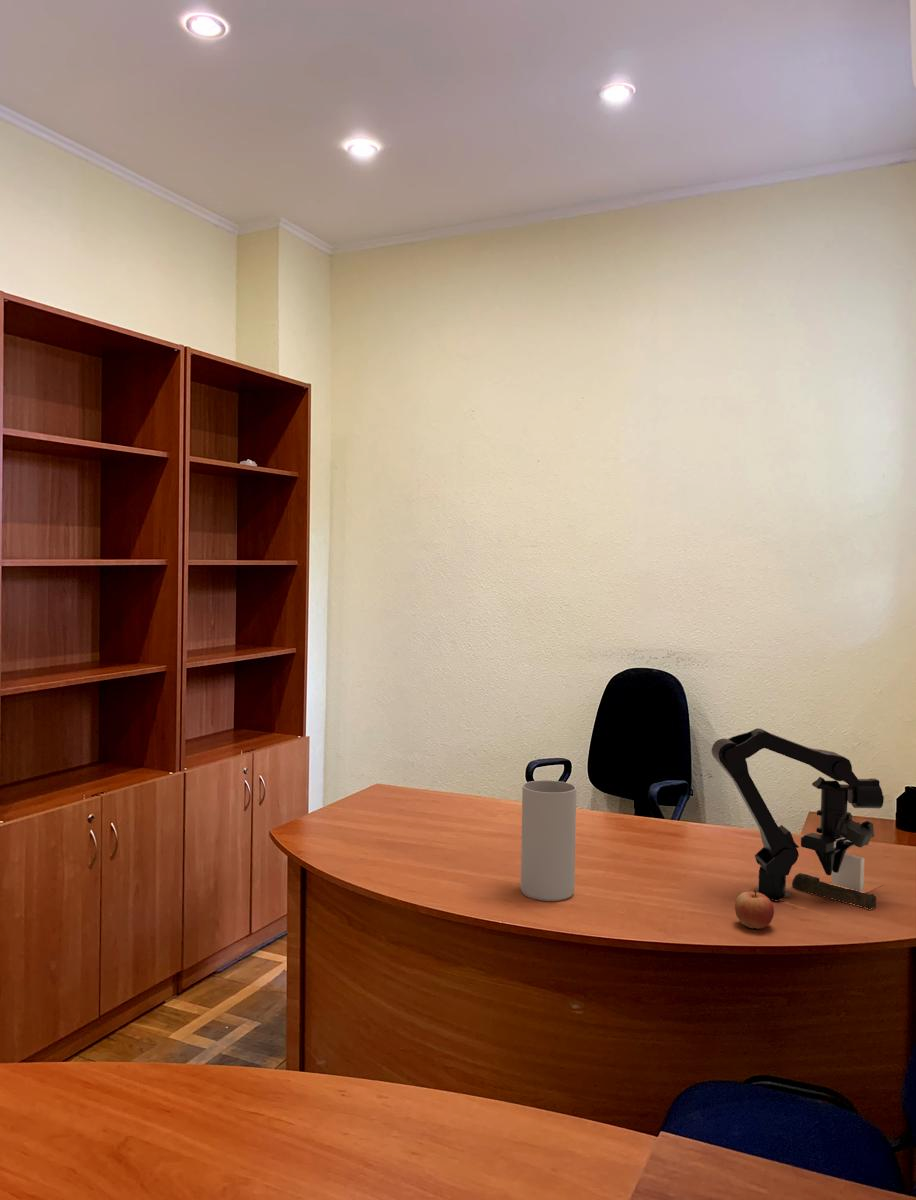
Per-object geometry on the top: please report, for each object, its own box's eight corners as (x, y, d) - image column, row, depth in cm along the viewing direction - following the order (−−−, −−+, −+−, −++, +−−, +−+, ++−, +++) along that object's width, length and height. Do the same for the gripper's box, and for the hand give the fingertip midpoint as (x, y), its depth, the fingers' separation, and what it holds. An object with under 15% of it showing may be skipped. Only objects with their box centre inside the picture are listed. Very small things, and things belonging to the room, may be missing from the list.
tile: (860, 892, 213) (861, 859, 213) (831, 884, 219) (832, 851, 218) (863, 891, 214) (864, 857, 214) (835, 883, 220) (836, 850, 219)
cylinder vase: (585, 894, 211) (587, 787, 210) (548, 906, 203) (550, 795, 202) (546, 880, 220) (548, 778, 220) (509, 891, 212) (511, 785, 211)
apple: (746, 916, 199) (747, 880, 199) (780, 927, 193) (781, 890, 193) (726, 925, 193) (727, 888, 193) (760, 937, 188) (761, 898, 187)
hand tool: (877, 910, 204) (878, 890, 204) (869, 914, 202) (870, 894, 202) (797, 888, 218) (798, 869, 218) (789, 891, 216) (790, 872, 216)
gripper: (847, 821, 199) (845, 891, 199) (887, 808, 211) (885, 875, 211) (800, 810, 208) (798, 878, 208) (841, 798, 219) (839, 862, 220)
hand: (832, 873), depth 212 cm, fingers open, 3 cm apart
